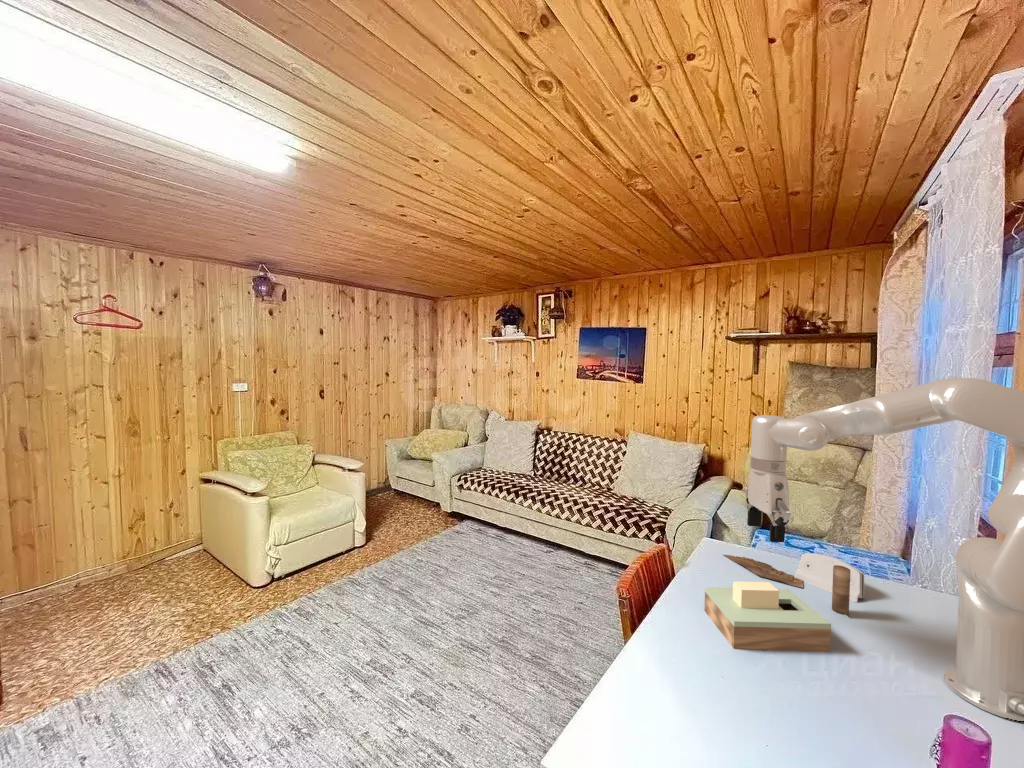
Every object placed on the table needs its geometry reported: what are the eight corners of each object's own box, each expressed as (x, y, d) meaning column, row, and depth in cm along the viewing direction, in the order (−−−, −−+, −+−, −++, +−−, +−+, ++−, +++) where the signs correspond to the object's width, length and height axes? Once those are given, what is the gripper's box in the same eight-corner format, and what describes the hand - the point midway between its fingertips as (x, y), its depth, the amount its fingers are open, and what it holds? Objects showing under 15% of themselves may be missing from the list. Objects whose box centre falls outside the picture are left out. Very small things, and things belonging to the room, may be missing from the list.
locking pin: (852, 617, 108) (854, 571, 108) (838, 617, 108) (840, 571, 108) (841, 609, 112) (843, 565, 111) (828, 609, 112) (829, 565, 111)
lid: (830, 628, 93) (831, 604, 93) (734, 626, 94) (734, 602, 94) (788, 593, 108) (788, 572, 108) (704, 591, 109) (705, 570, 109)
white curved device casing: (792, 577, 129) (798, 546, 131) (799, 579, 131) (804, 548, 133) (858, 603, 115) (864, 567, 116) (864, 604, 117) (870, 569, 119)
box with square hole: (830, 654, 94) (830, 628, 93) (733, 651, 94) (734, 626, 94) (787, 615, 109) (788, 593, 108) (704, 613, 109) (704, 591, 109)
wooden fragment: (814, 585, 125) (814, 582, 125) (793, 594, 120) (793, 590, 120) (735, 552, 148) (735, 549, 148) (715, 558, 143) (715, 555, 143)
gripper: (807, 474, 92) (803, 549, 93) (763, 458, 109) (760, 521, 110) (773, 473, 92) (770, 548, 93) (734, 457, 110) (732, 520, 110)
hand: (764, 533), depth 101 cm, fingers open, 9 cm apart
